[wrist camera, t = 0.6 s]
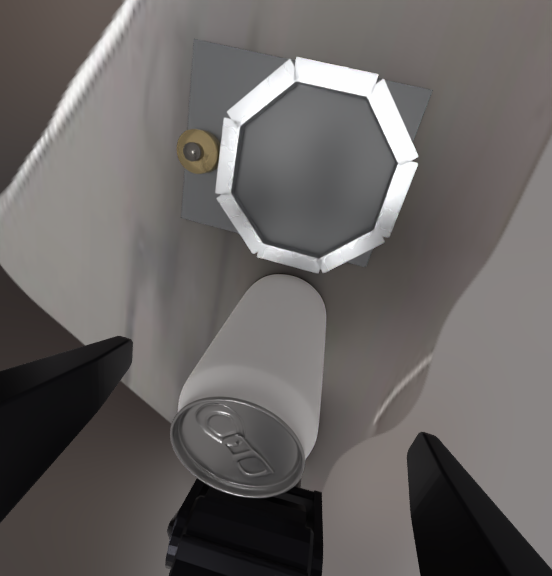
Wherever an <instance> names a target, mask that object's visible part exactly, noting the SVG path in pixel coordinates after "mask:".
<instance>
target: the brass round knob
mask: <svg viewBox="0 0 552 576" xmlns="http://www.w3.org/2000/svg"><path fill="white" fill-rule="evenodd" d="M220 147H221V144H220V142H219V140H218V139H217V137H216V136H215V135H213V134H212V133H210V132H208V131H204V130H199V129H190V130H187V131H185V132H184V133H183V134H182V135H181V136H180V138H179V140H178V143H177V155H178V158H179V161H180V162H181V164H182V165H183V167H184V168H185V169H187V170H188V171H190V172H192V173H195V174H202V173H209V172H212V171H214V170H216V169H217V168H218V164H219V155H220Z"/></svg>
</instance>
